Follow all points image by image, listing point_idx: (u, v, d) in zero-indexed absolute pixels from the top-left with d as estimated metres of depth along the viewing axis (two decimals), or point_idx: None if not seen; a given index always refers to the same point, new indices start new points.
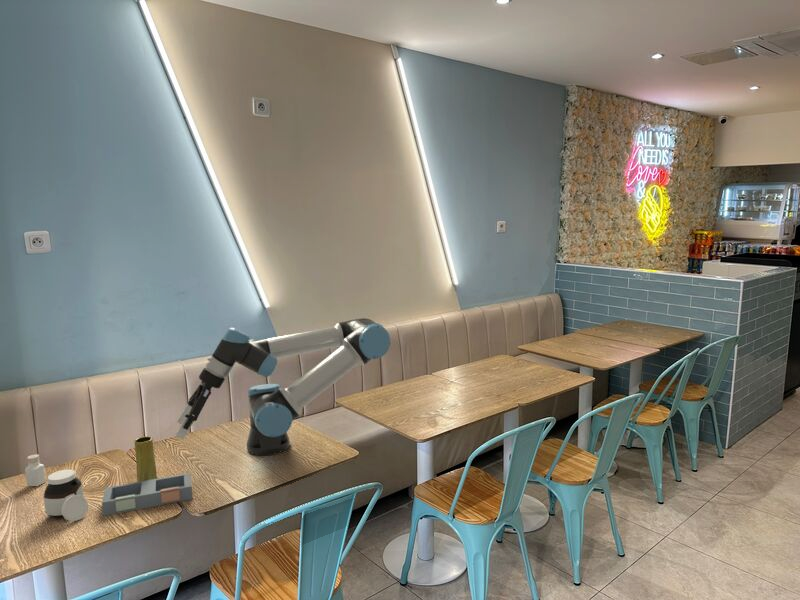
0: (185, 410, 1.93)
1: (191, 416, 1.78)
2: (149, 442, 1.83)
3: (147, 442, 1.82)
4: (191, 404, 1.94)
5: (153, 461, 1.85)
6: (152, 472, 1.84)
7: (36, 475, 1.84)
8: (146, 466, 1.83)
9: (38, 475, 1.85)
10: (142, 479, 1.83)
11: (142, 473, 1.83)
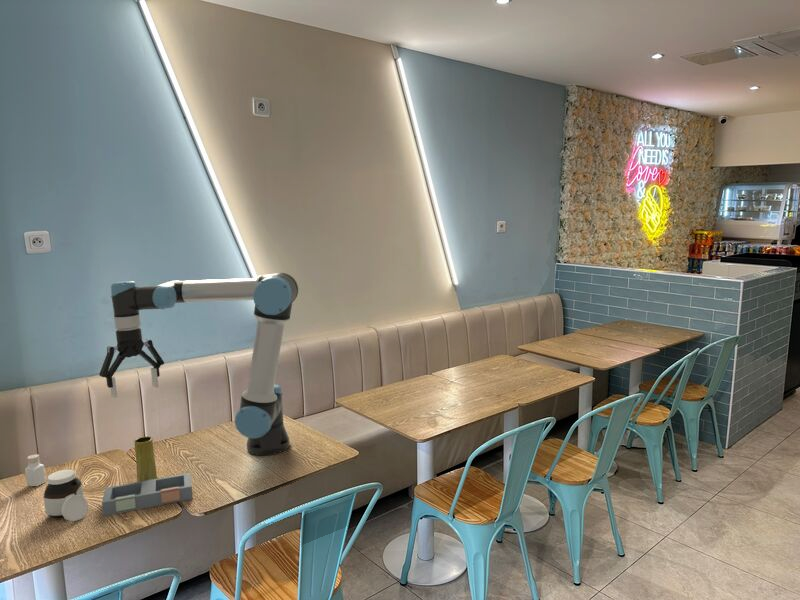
0: (151, 373, 1.98)
1: (100, 374, 1.86)
2: (149, 442, 1.83)
3: (147, 442, 1.82)
4: (154, 366, 1.98)
5: (153, 461, 1.85)
6: (152, 472, 1.84)
7: (36, 475, 1.84)
8: (146, 466, 1.83)
9: (38, 475, 1.85)
10: (142, 479, 1.83)
11: (142, 473, 1.83)
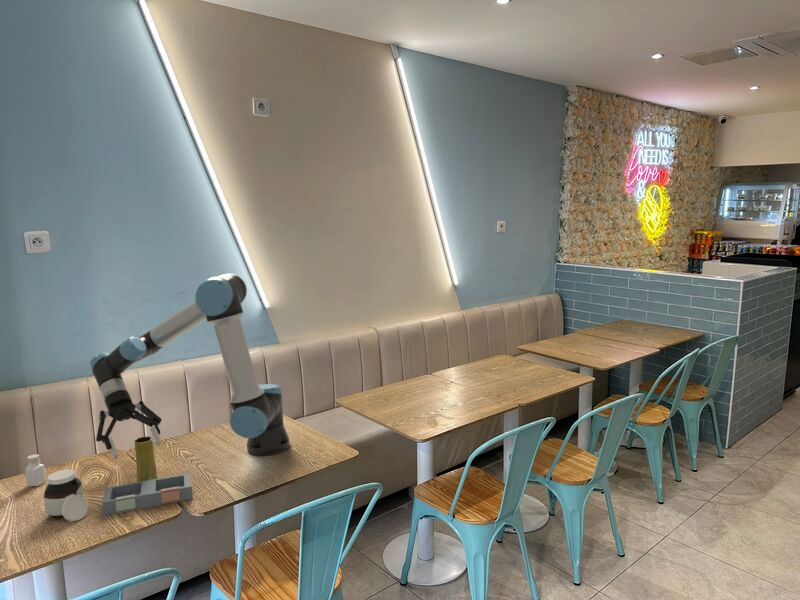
0: (152, 433, 1.93)
1: (96, 438, 1.82)
2: (149, 442, 1.83)
3: (147, 442, 1.82)
4: None
5: (153, 461, 1.85)
6: (152, 472, 1.84)
7: (36, 475, 1.84)
8: (146, 466, 1.83)
9: (38, 475, 1.85)
10: (142, 479, 1.83)
11: (142, 473, 1.83)
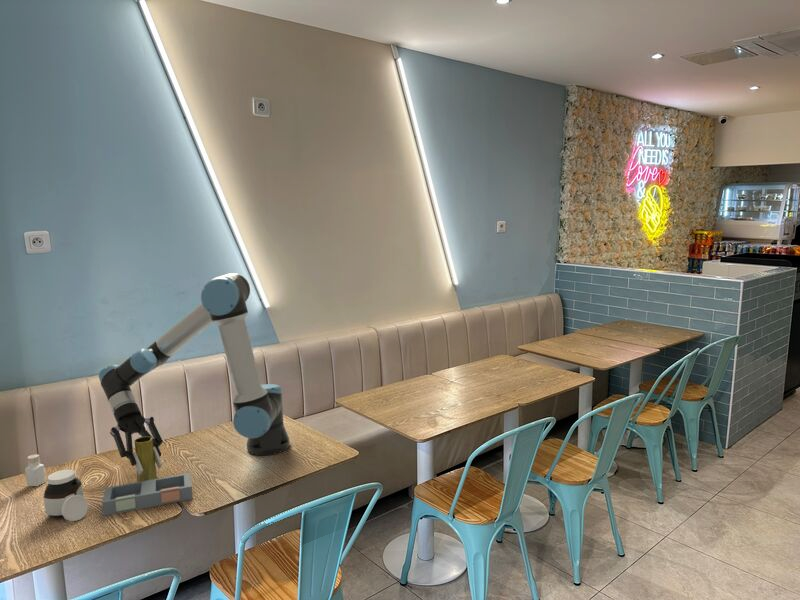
0: None
1: None
2: (149, 442, 1.83)
3: (147, 442, 1.82)
4: None
5: (153, 461, 1.85)
6: (152, 472, 1.84)
7: (36, 475, 1.84)
8: (146, 466, 1.83)
9: (38, 475, 1.85)
10: (142, 479, 1.83)
11: (142, 473, 1.83)
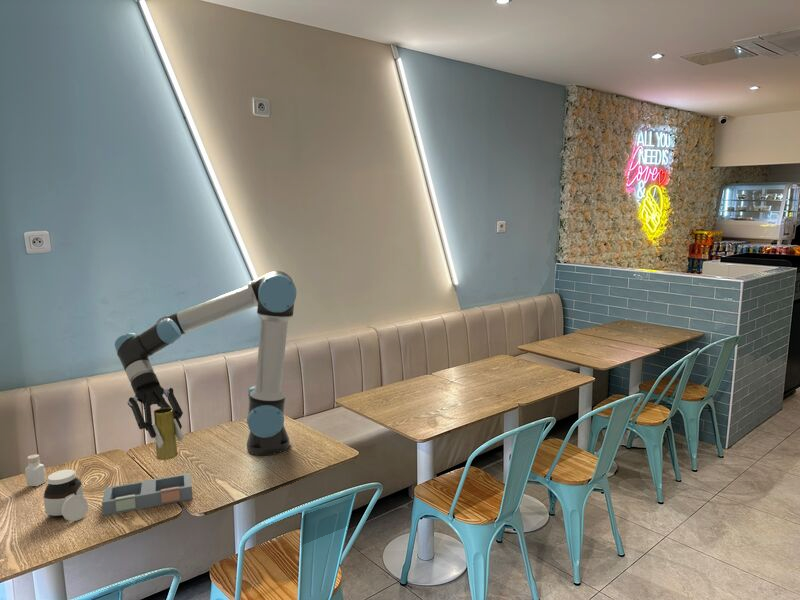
0: None
1: (139, 426, 1.70)
2: (169, 413, 1.72)
3: (167, 413, 1.71)
4: None
5: (173, 434, 1.73)
6: (172, 445, 1.73)
7: (36, 475, 1.84)
8: (167, 439, 1.72)
9: (38, 475, 1.85)
10: (162, 452, 1.72)
11: (162, 446, 1.71)
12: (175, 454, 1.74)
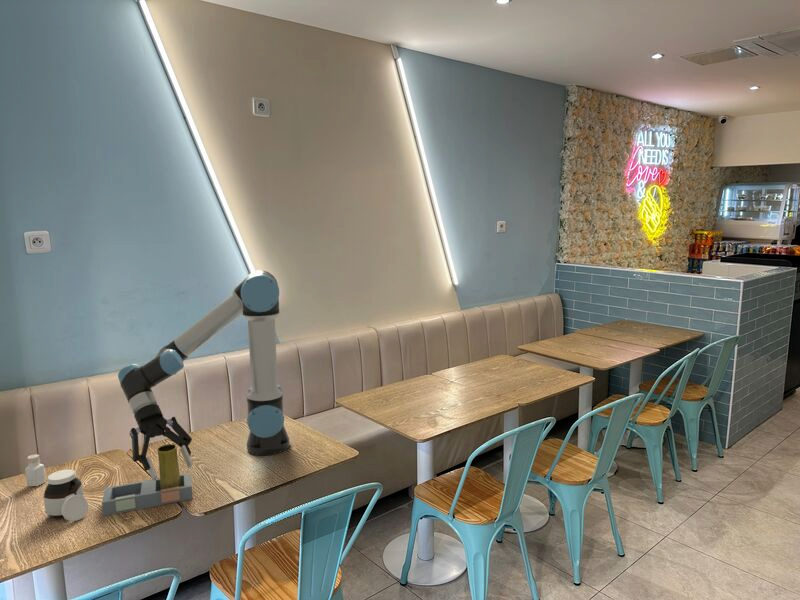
0: (182, 454, 1.79)
1: (133, 458, 1.71)
2: (173, 451, 1.73)
3: (171, 451, 1.72)
4: (182, 445, 1.80)
5: (177, 470, 1.75)
6: (176, 482, 1.75)
7: (36, 475, 1.84)
8: (171, 476, 1.73)
9: (38, 475, 1.85)
10: None
11: (166, 483, 1.73)
12: None
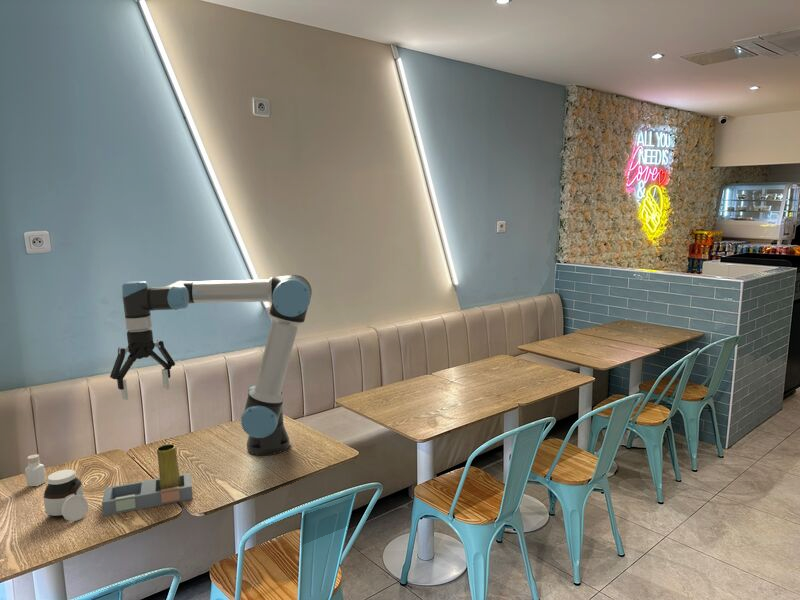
0: (162, 374, 1.95)
1: (111, 376, 1.82)
2: (172, 450, 1.73)
3: (170, 450, 1.73)
4: (165, 367, 1.95)
5: (177, 470, 1.75)
6: (176, 481, 1.75)
7: (36, 475, 1.84)
8: (170, 476, 1.73)
9: (38, 475, 1.85)
10: None
11: (166, 483, 1.73)
12: None
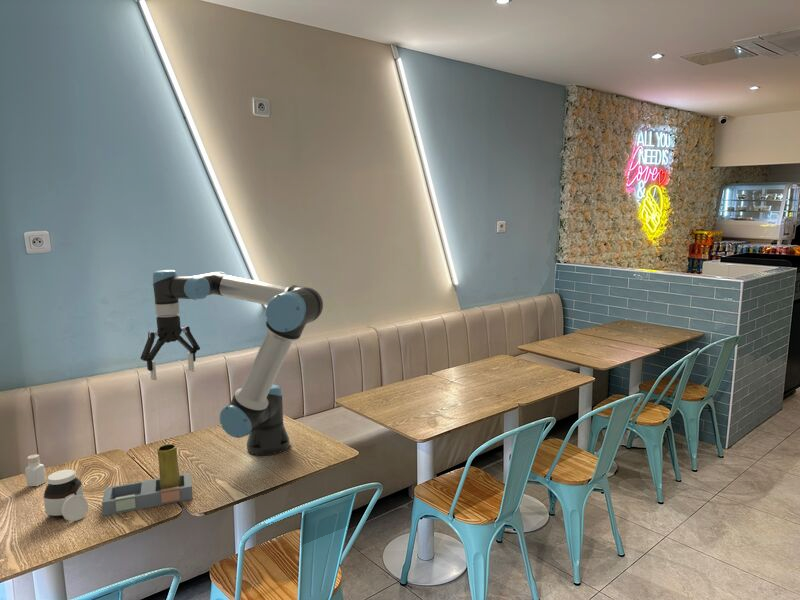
0: (188, 358, 2.08)
1: (141, 357, 1.96)
2: (173, 450, 1.74)
3: (171, 450, 1.73)
4: (190, 351, 2.08)
5: (177, 470, 1.75)
6: (176, 482, 1.75)
7: (36, 475, 1.84)
8: (171, 476, 1.73)
9: (38, 475, 1.85)
10: None
11: (166, 483, 1.73)
12: None
